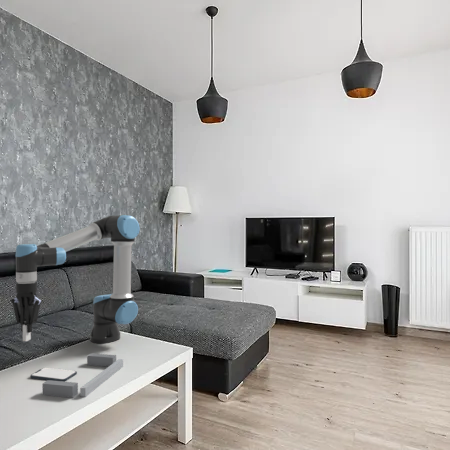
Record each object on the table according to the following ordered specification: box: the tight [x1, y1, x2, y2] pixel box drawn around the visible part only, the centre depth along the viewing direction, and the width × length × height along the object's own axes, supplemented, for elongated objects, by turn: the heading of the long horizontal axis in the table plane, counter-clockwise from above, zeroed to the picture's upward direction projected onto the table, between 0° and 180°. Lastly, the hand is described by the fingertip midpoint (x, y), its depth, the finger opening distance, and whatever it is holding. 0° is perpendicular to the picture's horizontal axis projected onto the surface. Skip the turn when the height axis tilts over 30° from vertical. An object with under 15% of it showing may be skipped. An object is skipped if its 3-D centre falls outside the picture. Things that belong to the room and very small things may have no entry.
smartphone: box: [29, 367, 78, 382], centre depth 149 cm, size 9×2×16 cm
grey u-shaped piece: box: [42, 353, 124, 399], centre depth 146 cm, size 31×16×4 cm, turn 168°
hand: (26, 340), depth 151 cm, fingers closed
